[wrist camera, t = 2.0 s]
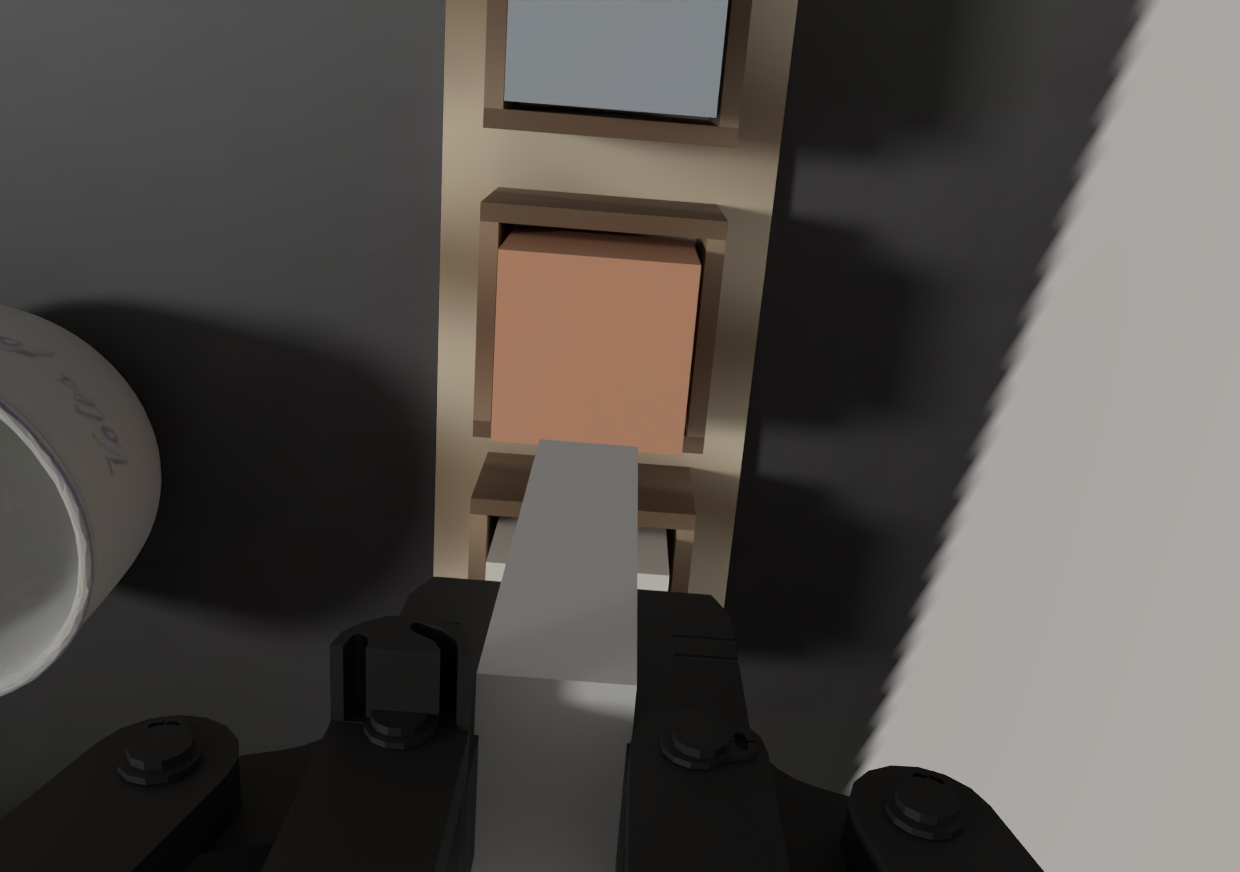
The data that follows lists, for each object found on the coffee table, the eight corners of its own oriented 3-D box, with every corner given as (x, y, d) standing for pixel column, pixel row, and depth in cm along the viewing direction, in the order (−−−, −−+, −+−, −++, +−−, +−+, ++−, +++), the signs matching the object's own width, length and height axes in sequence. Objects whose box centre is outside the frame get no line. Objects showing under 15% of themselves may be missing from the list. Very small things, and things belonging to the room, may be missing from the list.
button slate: (704, 112, 29) (716, 118, 25) (520, 97, 29) (504, 100, 25) (725, -92, 27) (740, -119, 23) (530, -108, 27) (513, -139, 23)
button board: (714, 669, 38) (724, 745, 33) (434, 649, 37) (409, 723, 33) (813, -149, 29) (844, -187, 25) (453, -179, 29) (422, -223, 25)
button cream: (650, 659, 34) (653, 732, 30) (496, 648, 34) (479, 719, 30) (665, 517, 32) (669, 575, 29) (502, 505, 32) (485, 562, 29)
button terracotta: (675, 409, 31) (681, 455, 28) (507, 396, 31) (490, 441, 28) (692, 241, 30) (700, 265, 26) (515, 227, 30) (498, 249, 26)
